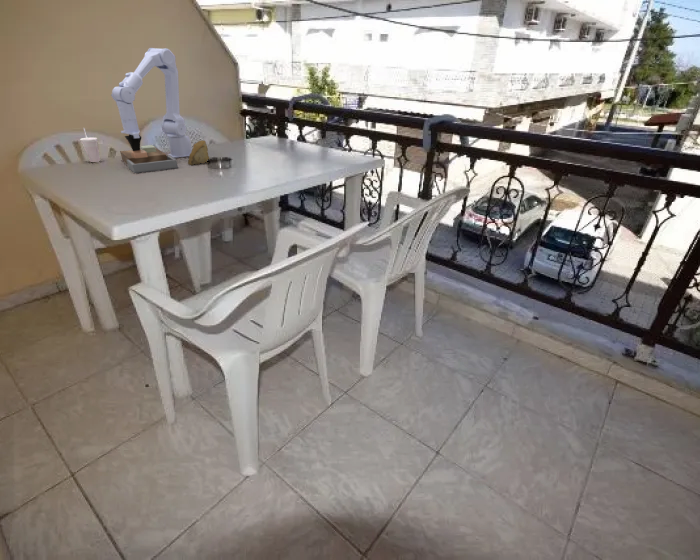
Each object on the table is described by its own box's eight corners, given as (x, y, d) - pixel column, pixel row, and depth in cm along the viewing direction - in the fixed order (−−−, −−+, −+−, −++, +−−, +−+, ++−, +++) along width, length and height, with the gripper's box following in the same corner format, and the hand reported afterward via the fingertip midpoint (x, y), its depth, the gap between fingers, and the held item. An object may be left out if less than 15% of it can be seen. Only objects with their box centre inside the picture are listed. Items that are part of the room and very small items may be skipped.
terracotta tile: (144, 154, 163) (143, 150, 162) (147, 157, 160) (146, 152, 159) (131, 156, 160) (130, 151, 159) (134, 158, 157) (133, 153, 156)
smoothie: (85, 161, 166) (74, 127, 159) (102, 159, 170) (92, 126, 163) (88, 164, 162) (78, 129, 155) (105, 162, 166) (95, 128, 159)
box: (170, 163, 168) (169, 155, 166) (178, 168, 161) (176, 159, 159) (128, 168, 158) (126, 159, 156) (134, 173, 152) (132, 164, 150)
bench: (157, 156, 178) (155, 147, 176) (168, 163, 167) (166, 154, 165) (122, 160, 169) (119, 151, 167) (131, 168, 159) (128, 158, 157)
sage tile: (153, 149, 172) (152, 145, 171) (156, 151, 169) (155, 147, 168) (141, 150, 169) (140, 146, 168) (144, 152, 166) (143, 148, 165)
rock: (187, 161, 162) (211, 157, 166) (181, 143, 163) (204, 138, 166) (190, 171, 173) (212, 167, 176) (184, 154, 173) (206, 150, 176)
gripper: (114, 117, 158) (122, 151, 165) (122, 122, 148) (131, 157, 155) (132, 116, 162) (140, 149, 168) (141, 121, 152) (149, 155, 159)
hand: (137, 153), depth 162 cm, fingers closed
